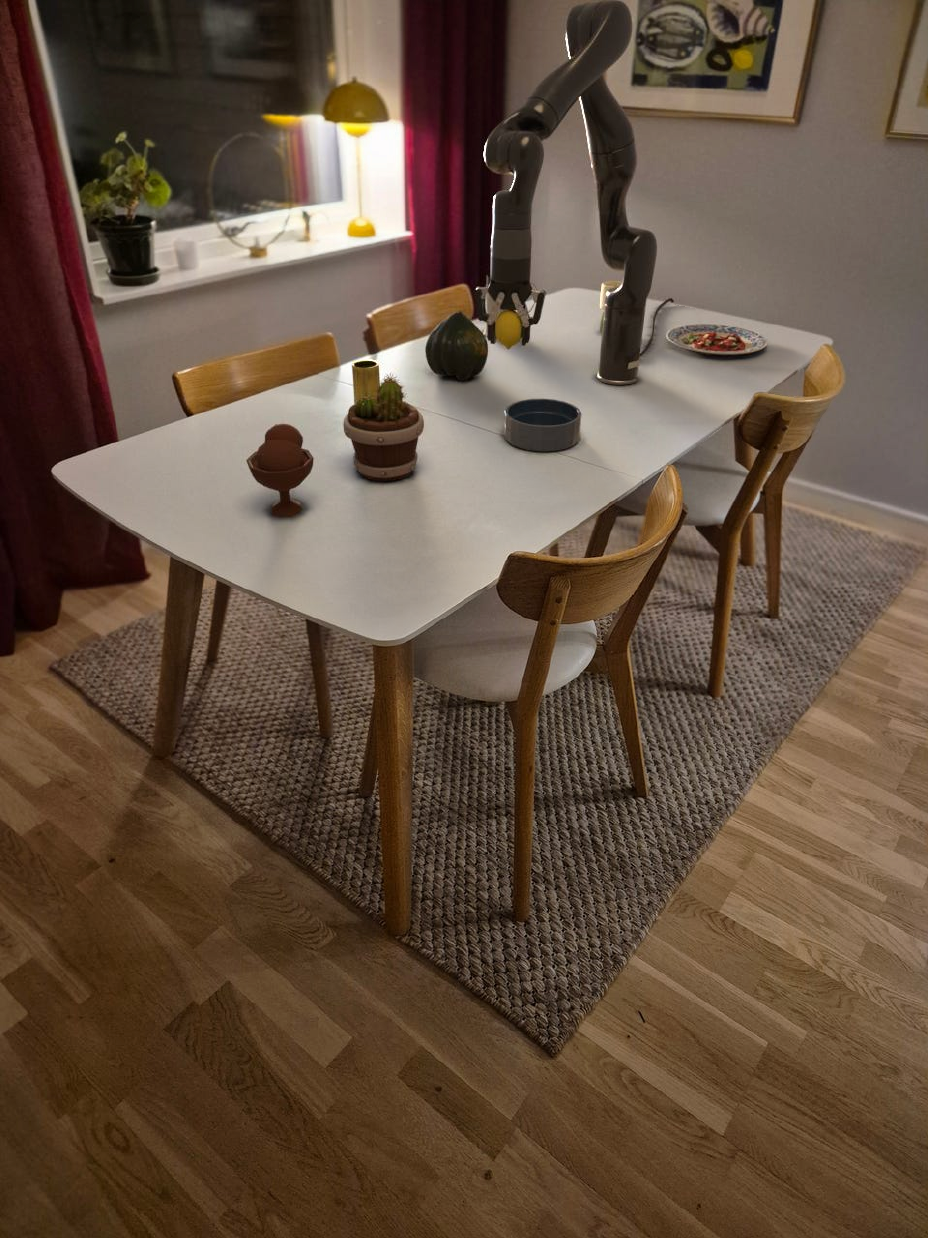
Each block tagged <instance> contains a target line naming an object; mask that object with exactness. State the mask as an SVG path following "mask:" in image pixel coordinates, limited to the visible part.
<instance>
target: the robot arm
mask: <svg viewBox="0 0 928 1238" xmlns="http://www.w3.org/2000/svg"><path fill="white" fill-rule="evenodd" d="M633 26H634V25H633V17H632V13H631V9H630V8H629V6H628V5H627V4H626V2H625V1H622V0H597V1H589V2H581V3H578V4H575V5H574V6H573V7H572V8H571V9H570V10H569V13H568V15H567V17H566V22H565V41H566V42H565V43H566V49H567V53H568V54H567V55H568V57H569V58H568V60H567V61H565V62H564V63H562V64H561V65H560V66H558V67H556V68H554V69H553V70H552V71H551V72H549V73H548V74H547V75H546V76H545V77H544V78H543V79H542V80H540V82H539V83H538V84H537V85H536V86H535V88H534V89H533V90H532V91H531V93H530V94H529V96H528V98H527V99H526V100H525V102H524V103H523V104H522V106H521V107H519V108H518V109H517V110H515V111H514V112H512V113H511V114H510V115H509V116H507V117H506V118H505V119H504V120H502V121H501V122H500V123H499V124H498V125H497V126H495V128H494V129H493V130H492V131H491V133H489V135H488V138H487V140H486V141H485V145H484V151H483V158H484V162H485V165H486V167H487V168H488V169H489V170H490V171H491V172H493V173H495V174H497V175H505V176H514V178H513V179H514V180H513V183H512V185H511V188H507V189H501V190H499V191H497V192H496V193H495V195H494V196H493V202H492V231H491V237H490V238H491V239H490V240H491V241H490V250H489V251H490V274H491V281H490V284H489V286H488V287H486V286H484V287H483V286H479V285H478V286H477V287H476V288H475V289H474V291H473V296H474V301H475V302H474V303H475V307H476V313H477V320H478V321H480V322H484V323H485V322H486V323H487V325H488V337H487V336H486V337H487V338H486V339H487V342H490V344H491V345H495V344H496V342H497V338H496V335H495V324H496V322H495V319H496V317H497V315H498V312H499V310H500V309H501V310H506V309H510V310H514V311H516V312H517V313H518V315H519V316H520V318H521V321H522V323H523V327H522V338H521V340H520V343H521V347H526V345H527V344H528V343H529V342H530V339H531V327H532V326H533V325H538V324H539V322H540V320H541V318H542V317H541V316H542V313H543V307H544V304H545V299H546V295H547V293H546V292H547V291H546V290H545V289H541V290H538V289H537V290H536V289H533V287H532V284H530V282H531V268H532V267H531V265H532V246H533V245H532V244H533V243H532V241H533V239H532V210H533V206H532V205H533V200H534V196H535V194H536V193H535V192H536V189H537V185H538V182H539V179H540V174H541V172H542V168H543V164H544V159H545V148H544V143H543V142H546V140H548V139H549V138H550V137H551V136H552V135H553V134H554V133H555V131H556V130H557V129H558V127H559V126H560V124H561V123H562V121H563V120H564V119H565V117H566V116H567V114H568V113H569V111H570V110H571V109H572V107H573V106H574V105H575V104H576V103H577V102H578V100H579V101H580V106H581V111H582V115H583V116H582V117H583V122H584V126H585V133H586V140H587V146H588V153H589V158H590V166H591V171H592V177H593V181H594V187H595V188H594V189H595V196H596V203H597V210H598V220H599V222H598V223H599V237H600V238H599V239H600V249H601V255H602V260H603V262H604V264H605V265H606V267H607V268H609V269H611V270H613V271H615V272H621V273H623V278H622V281H621V282H622V285H621V286H619V287H614V288H611V289H609V290H608V291H607V292H606V297H605V308H604V310H603V312H604V319H603V329H602V332H601V340H600V349H599V350H600V352H599V361H598V370H597V371H598V372H597V380H599V381H600V382H602V383H604V384H609V385H615V386H627V385H632V384H634V383H636V382H637V381H638V377H639V376H638V372H639V367H640V365H641V364H640V363H641V359H640V358H641V357H642V356H643V355H644V354H646V352H647V350H648V349H649V348H650V346H651V344H652V342H653V340H654V335H655V323H656V317H657V314H658V313H659V311H660V310H661V308H663V307H664V306H665V305H666V304H668V303H669V302H670V303H674V299H673V298H672V297H669V298H667V299H666V300H664V301H663V302H662V303H661V304H660V305H658V306H657V307H656V309H655V311H654V313H653V315H652V319H651V327H650V328H651V329H650V336H649V339H648V342H647V344H646V345H645V347H643V348H642V340H643V333H644V332H643V331H644V324H645V315H646V306H647V300H648V297H649V295H650V292H651V289H652V285H653V278H654V275H655V274H654V273H655V267H656V262H657V255H658V242H657V238H656V235H655V234H654V233H653V232H652V231H651V230H647V229H643V228H639V227H633V226H630V224H629V221H628V215H627V208H626V207H627V206H626V199H627V195H628V192H629V189H630V187H631V185H632V182H633V180H634V177H635V174H636V171H637V170H636V169H637V165H638V154H637V153H638V152H637V145H636V139H635V132H634V127H633V124H632V122H631V120H630V119H629V116H628V115H627V113H626V111H625V110H624V108H623V107H622V106H621V104H620V103H619V101H617V99H616V97H615V96H614V94H613V93H612V91H611V90H610V88H609V86H608V83H607V81H606V78H605V75H604V74H605V72H607V70H609V69H610V68H611V67H612V66H613V65H615V63H616V62H617V61H618V60H619V59H620V58H621V57H622V56H623V55H624V53H625V52H626V51H627V49H628V47H629V46H630V43H631V40H632V35H633ZM487 293H489V294H490V296H491V298H492V299H493V301H494V302H495V304H494V306H493V308H492V310H491V313H490V315H489V314H487V313H486V296H487ZM531 296H532V301H533V303H534V302H535V305H534V306H535V307H534V312H533V315H532V316H530V312H529V313H528V311H529V310H528V309H529V308H528V306H527V304H526V302H527V301H528V299H529V298H530V297H531ZM641 349H642V350H641Z"/></svg>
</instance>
